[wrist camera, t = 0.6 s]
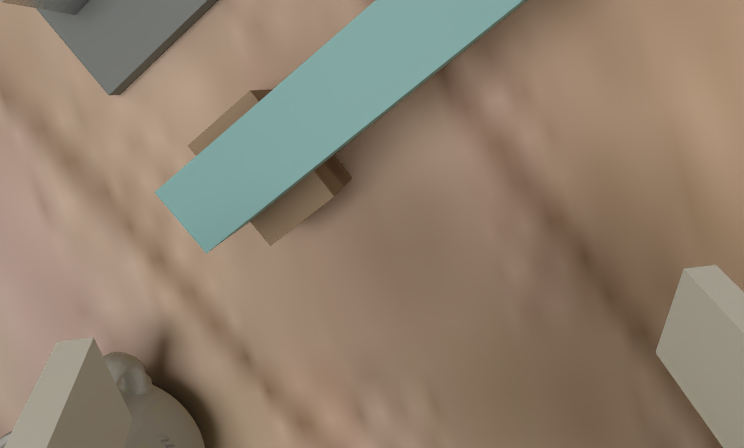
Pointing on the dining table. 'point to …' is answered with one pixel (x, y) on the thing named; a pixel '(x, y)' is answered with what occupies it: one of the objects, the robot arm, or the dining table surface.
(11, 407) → the dining table surface
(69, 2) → the end caps
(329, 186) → the block
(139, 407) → the teacup
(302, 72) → the slat
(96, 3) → the cap board
